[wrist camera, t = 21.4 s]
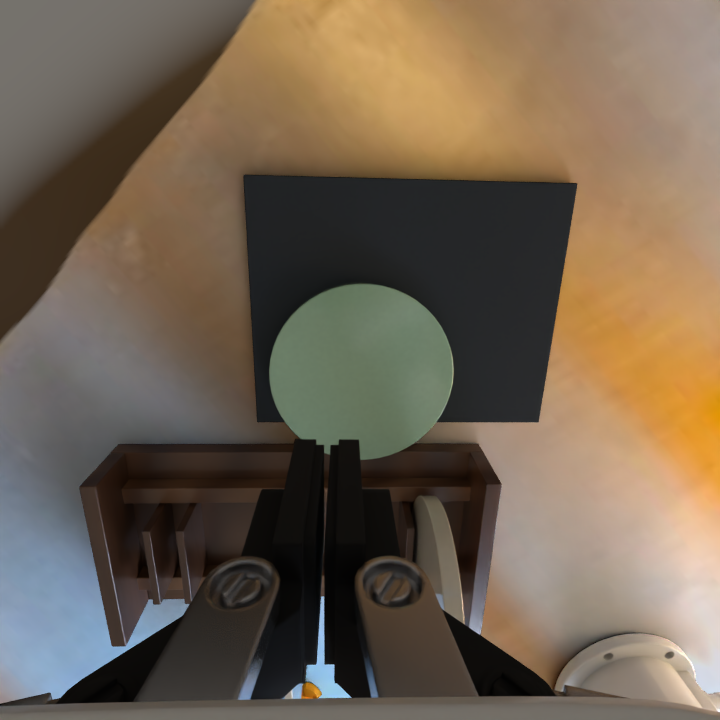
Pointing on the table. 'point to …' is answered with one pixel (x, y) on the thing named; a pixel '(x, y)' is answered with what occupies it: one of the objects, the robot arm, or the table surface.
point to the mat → (420, 271)
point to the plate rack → (236, 509)
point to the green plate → (361, 369)
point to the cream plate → (437, 553)
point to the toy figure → (310, 691)
